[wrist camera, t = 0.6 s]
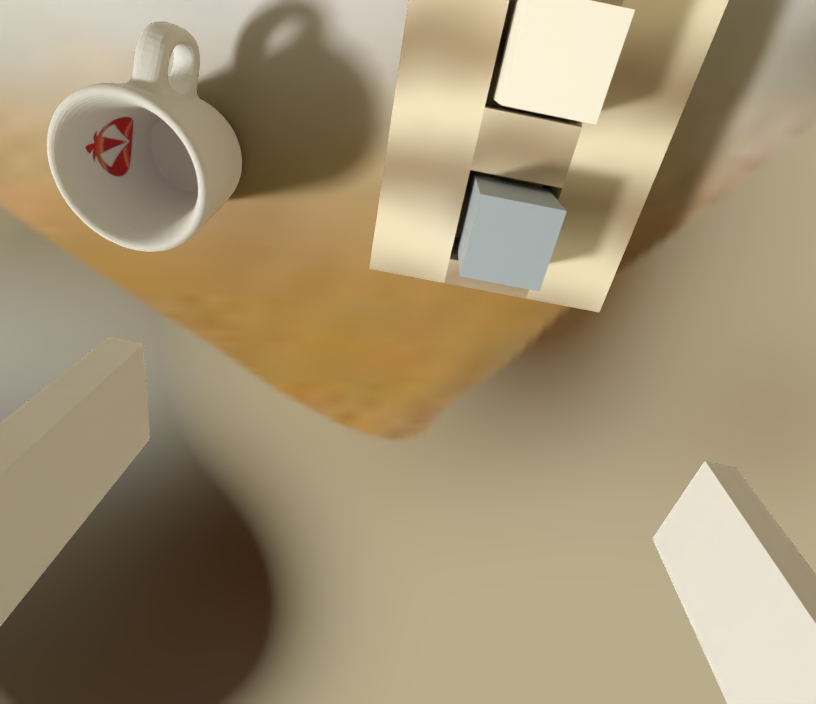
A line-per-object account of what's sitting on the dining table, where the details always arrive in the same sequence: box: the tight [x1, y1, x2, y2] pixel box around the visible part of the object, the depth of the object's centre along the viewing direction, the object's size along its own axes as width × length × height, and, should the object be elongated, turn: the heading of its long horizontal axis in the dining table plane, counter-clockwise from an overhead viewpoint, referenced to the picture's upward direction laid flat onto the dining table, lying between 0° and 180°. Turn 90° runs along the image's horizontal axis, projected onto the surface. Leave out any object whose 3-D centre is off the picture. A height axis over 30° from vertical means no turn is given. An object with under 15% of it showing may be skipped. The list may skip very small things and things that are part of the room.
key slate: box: [457, 174, 567, 291], centre depth 27 cm, size 4×4×5 cm
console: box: [369, 0, 729, 312], centre depth 26 cm, size 24×14×5 cm, turn 170°
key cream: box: [492, 0, 635, 125], centre depth 23 cm, size 4×4×5 cm
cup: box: [47, 22, 242, 252], centre depth 27 cm, size 11×8×8 cm
